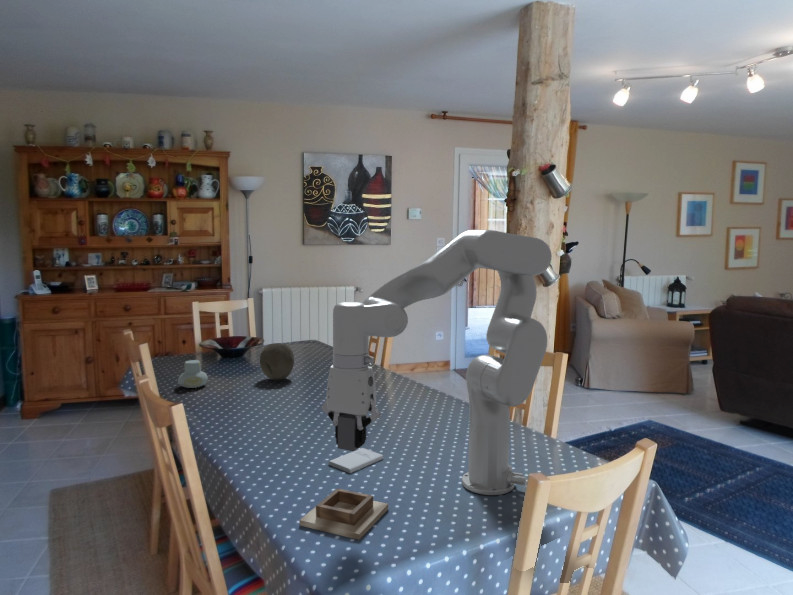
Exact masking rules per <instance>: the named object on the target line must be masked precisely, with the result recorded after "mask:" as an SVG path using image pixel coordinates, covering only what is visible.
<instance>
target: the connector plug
mask: <svg viewBox="0 0 793 595" xmlns="http://www.w3.org/2000/svg"><path fill="white" fill-rule="evenodd" d="M356 429H357V421H356V415H349V414H341V415H340V416H338V444H337V449H339V450H345V451H349V452H353V451H356V450H359V449H361V447H363V446H364V445H362V446H361V447H359V448H356V446H355V432H356Z"/></svg>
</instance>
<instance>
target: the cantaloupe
mask: <svg viewBox="0 0 793 595" xmlns="http://www.w3.org/2000/svg"><path fill="white" fill-rule="evenodd" d="M294 364H295V355H294V352H293V350H292V348H291V347H290V346H289V345H288V344H285V343H278V342H277V343H275V342H274V343H270V344H267V345H266V346H265V347H264V348H263V349H262V351H261V352H260V356H259V365H260V366H259V367H260V369H261V371H262V373H263V375H265V376H266V377H267V378H268V379H270V380H273V381H276V382H280V381H284V380H285V379H287V377H288V376H290V375H291V374H292V371H293V368H294Z"/></svg>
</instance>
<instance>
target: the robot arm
mask: <svg viewBox="0 0 793 595" xmlns="http://www.w3.org/2000/svg"><path fill="white" fill-rule="evenodd" d="M552 258H553V256H552V251H551V248H550V246H549V245H548V243H546V241H544V240H543V239H540V238H537V237H533V236H527V235H522V234H514V233H508V232H504V231H499V230H493V229H469V230H466V231H464V232H461V233H460V234H458V235H457V236H455V237H454V238H453V239H452V240H451V241H449V242H448V243H447V244H445V245H444V246H443V247H442V248H440V249H438V251H437V252H435V253H434V254H433V255H431V256H430V257H429V258H428V259H426V260H425V261H424V262H422V263H421V264H419V265H417V266H415V267H413V268H410V269H409V270H407V271H406V272H404V273H402V274H399V275H398V276H396V277H393V278H392V279H390V280H389V281H387V282H386V283H384V284H383V285H382V286H380V287H379V288H378V289H376V290H375V291H374V292H373V293H372V294H370V295H369V296H368V297H367V298H365V299H364V300H363V301H362V302H356V301H344V302H339V303H336V304H335V305H334V306H333V310H332V365H331V366H330V368H329V372H328V378H327V384H326V399H325V401H324V402H323V404H322V406H321V408H320V409H321V410H322V411H323V413H325V414H326V415H327V416H328V417H329V419H330V420H331V421H332V425H333V426H334V428H335V429H334V434H335V435H334V436H335V443H336V444H335V445H338V416H340V415H341V414H349V415H356V421H357V429H356V432H355V446H356V448H358V449H360V448H362V447H363V446H364V445H365V443H366V442H367V441H366V440H367V427H368V426H369V425H370V424H371V423H373V422H374V421H376V420H377V419H380V418H381V412H380V411H379V409H378V407H377V391H376V390H377V389H376V381H375V375H374V370H373V367H372V366H369V365H373V364H374V363H375V358H374V357H372V356H370V353H369V343H370V342H369V340H370V339H369V338H370V337H380V338H395V337H397V336H399V335H400V334H402V333H403V332H404V331H405V330H406V328H407V326H408V322H409V318H408V314H407V312H406V310H405V308H407V307H409V306H410V305H413V304H415V303H418V302H421V301H426V300H430V299H434V298H438V297H441V296H443V295H445V294H447V293H448V292H451V290H452V289H453V288H455V287H456V286H457V285H458V284H459V283H461V282H462V281H463V280H464V279H466V278H467V277H468V276H470V275H471V274H472V273H473V272H475V271H476V270H477V269H484V270H490V271H491V270H492V271H497V273H498V277H499V280H500V292H499V295H498V299H497V302H496V305H495V309H494V310H493V313H492V316H491V319H490V322H489V324H488V327H487V330H486V334H485V335H486V342H487V344H488V345H489V347H491V349H493V350H496V351H497V352H500V353H502V354H505V355H504V358H501V357H498V356H496V355H492V354H482V355H478V356H476V357H475V358H473V359H472V360H471V361H470V363H469V364H468V367H467V369H466V375H465V376H466V378H465V379H466V380H465V381H466V387H467V388H466V389H467V395H468V404H469V406H468V407H469V412H468V413H469V414H468V415H469V418H468V423H469V424H468V471H467V472H466V473H464V474H463V475H462V477H461V484H462V486H463V487H464V488H465V489H467V490H468V491H470V492H472V493H476V494H479V495H484V496H499V495H504V494H507V493H510V492H511V491H513V489H514V488H515V484H517V486H518V485H519V486H526V484H527V477H526V476H524V473H521V472H514V470H512V465H511V464H509V463H510V461H509V456H510V452H509V450H510V421H511V420H510V419H511V418H510V416H511V415H510V414H511V413H510V407H517V406H520V405H522V404H523V403H524V402H525V401H526V400H527V399H528V398H529V396H530V394H531V392H532V390H533V388H534V386H535V383H536V379H537V377H538V374H539V372H540V369H541V366H542V363H543V361H544V358H545V354H546V352H547V348H548V335H547V332H546V328H545V327H544V325H543V324H542V323H541V322H540V321H539V320H537V319H534V318H531V317H532V314H533V311H534V308H535V304H536V301H537V293H538V292H537V291H538V290H537V286H536V281H535V276H536V277H537V276H539V275H541V274H543V273H545V271H547V270H548V269H549V267H550V265H551V263H552ZM369 412H370V415H369ZM368 415H369V416H368ZM362 445H363V446H362ZM359 447H360V448H359Z"/></svg>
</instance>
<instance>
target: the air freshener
mask: <svg viewBox="0 0 793 595" xmlns="http://www.w3.org/2000/svg"><path fill="white" fill-rule="evenodd" d="M201 367H202V366H201V361H200V360H199V359H190V360H186V361H184V372H183V373H181V374H180V375H179V376H178V379H177V380H178V382H177V383H178V384H179V385H180V386H182V387H183V388H186V389H189V388H195V389H198V388H201V387H203V386H204V385H205V384H207V382H208V380H209V377H208V375H207V373H206V372H204V371H202V369H201ZM197 387H198V388H197Z"/></svg>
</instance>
